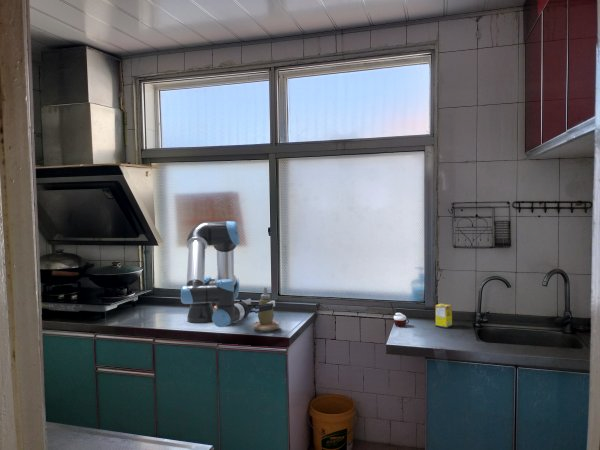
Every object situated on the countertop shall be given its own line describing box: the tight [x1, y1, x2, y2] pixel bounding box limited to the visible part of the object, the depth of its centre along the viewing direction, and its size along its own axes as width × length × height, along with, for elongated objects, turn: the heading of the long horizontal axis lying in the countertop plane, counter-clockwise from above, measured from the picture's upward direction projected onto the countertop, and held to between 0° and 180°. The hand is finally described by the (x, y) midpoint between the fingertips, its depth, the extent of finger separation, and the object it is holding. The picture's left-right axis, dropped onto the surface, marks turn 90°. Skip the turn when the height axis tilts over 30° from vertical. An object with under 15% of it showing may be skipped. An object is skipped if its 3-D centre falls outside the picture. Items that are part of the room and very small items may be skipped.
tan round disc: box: [252, 320, 280, 333], centre depth 227 cm, size 13×13×3 cm
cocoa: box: [389, 302, 410, 328], centre depth 230 cm, size 10×6×12 cm, turn 68°
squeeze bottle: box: [257, 287, 275, 325], centre depth 226 cm, size 8×8×18 cm
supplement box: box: [434, 303, 453, 329], centre depth 227 cm, size 6×6×11 cm
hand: (262, 302), depth 222 cm, fingers open, 13 cm apart
